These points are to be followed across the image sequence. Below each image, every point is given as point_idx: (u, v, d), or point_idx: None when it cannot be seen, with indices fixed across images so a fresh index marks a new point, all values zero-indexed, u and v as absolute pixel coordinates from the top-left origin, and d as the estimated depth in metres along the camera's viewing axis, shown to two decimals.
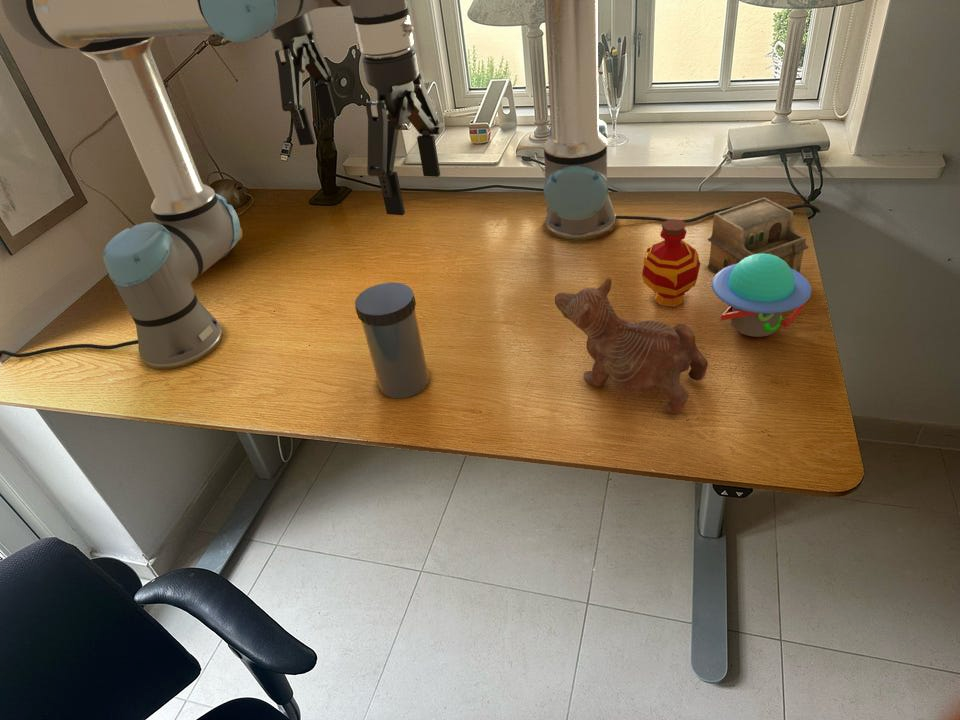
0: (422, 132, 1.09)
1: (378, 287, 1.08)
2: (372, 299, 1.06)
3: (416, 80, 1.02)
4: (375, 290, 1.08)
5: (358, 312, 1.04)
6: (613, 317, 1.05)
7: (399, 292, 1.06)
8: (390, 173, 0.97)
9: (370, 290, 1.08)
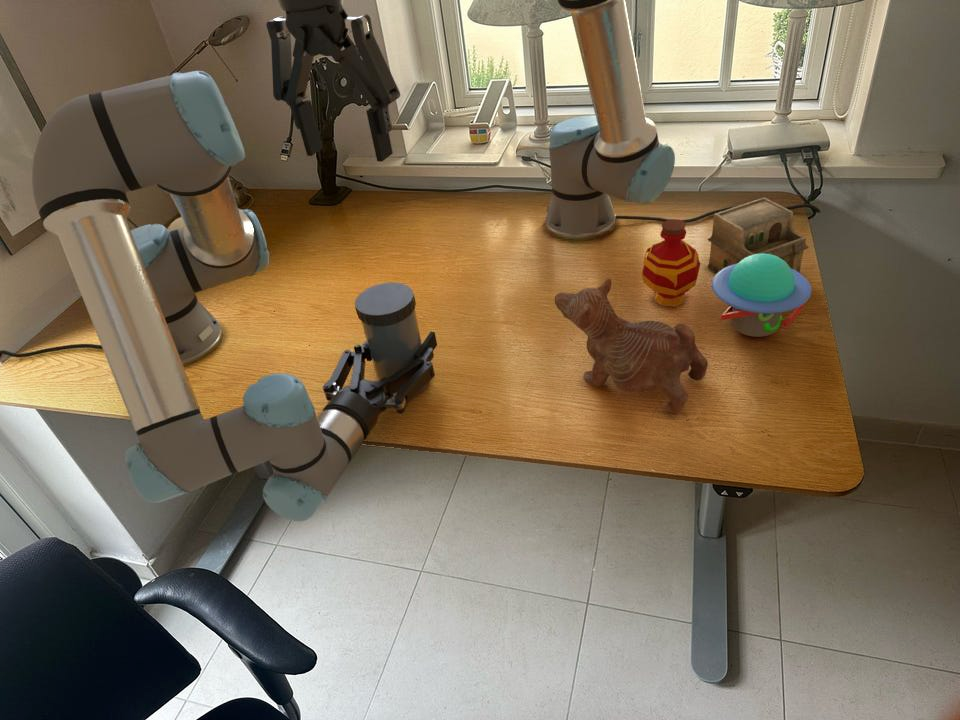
0: None
1: (378, 287, 1.08)
2: (372, 299, 1.06)
3: None
4: (375, 290, 1.08)
5: (358, 312, 1.04)
6: (613, 317, 1.05)
7: (399, 292, 1.06)
8: None
9: (370, 290, 1.08)
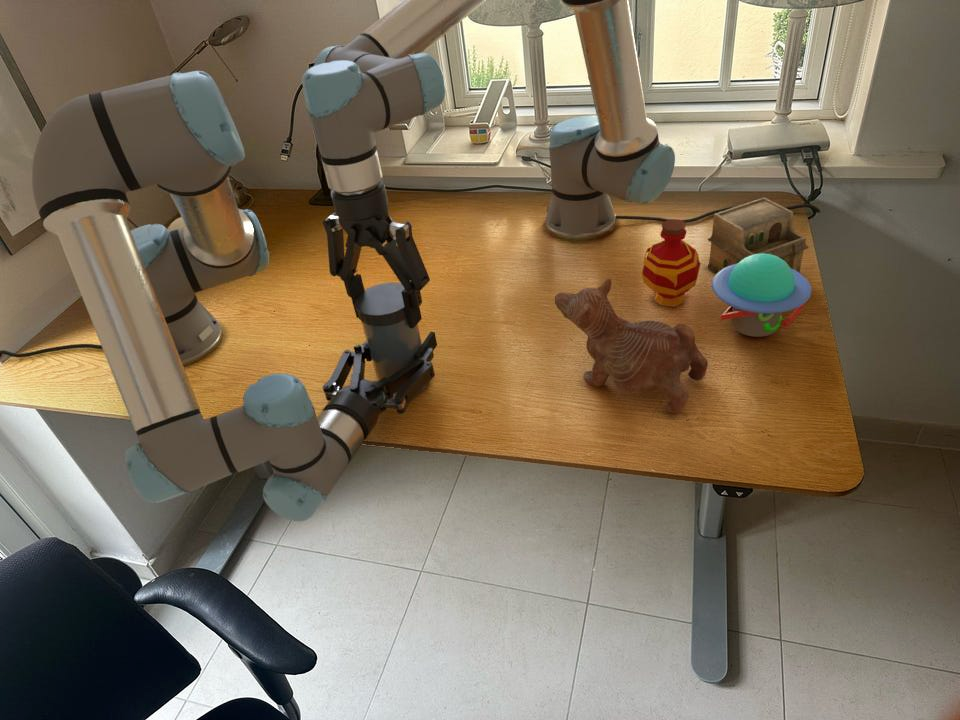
0: None
1: (378, 287, 1.08)
2: (372, 299, 1.06)
3: None
4: (375, 290, 1.08)
5: (358, 312, 1.04)
6: (613, 317, 1.05)
7: (399, 292, 1.06)
8: None
9: (370, 290, 1.08)
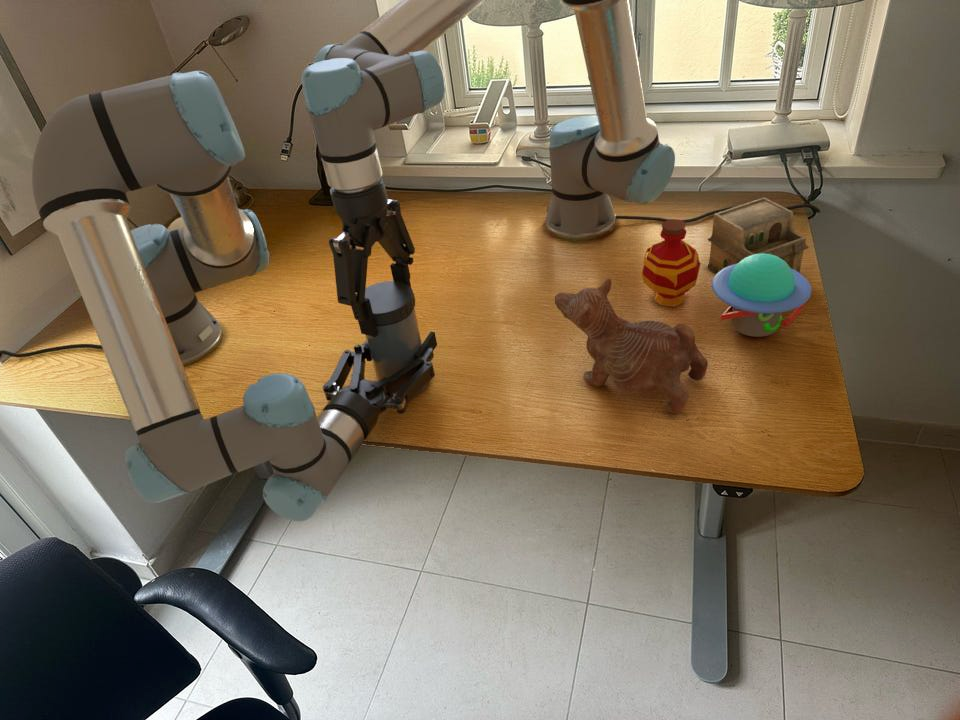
0: None
1: None
2: (380, 303, 1.04)
3: None
4: None
5: (395, 312, 1.02)
6: (613, 317, 1.05)
7: (378, 289, 1.07)
8: None
9: None
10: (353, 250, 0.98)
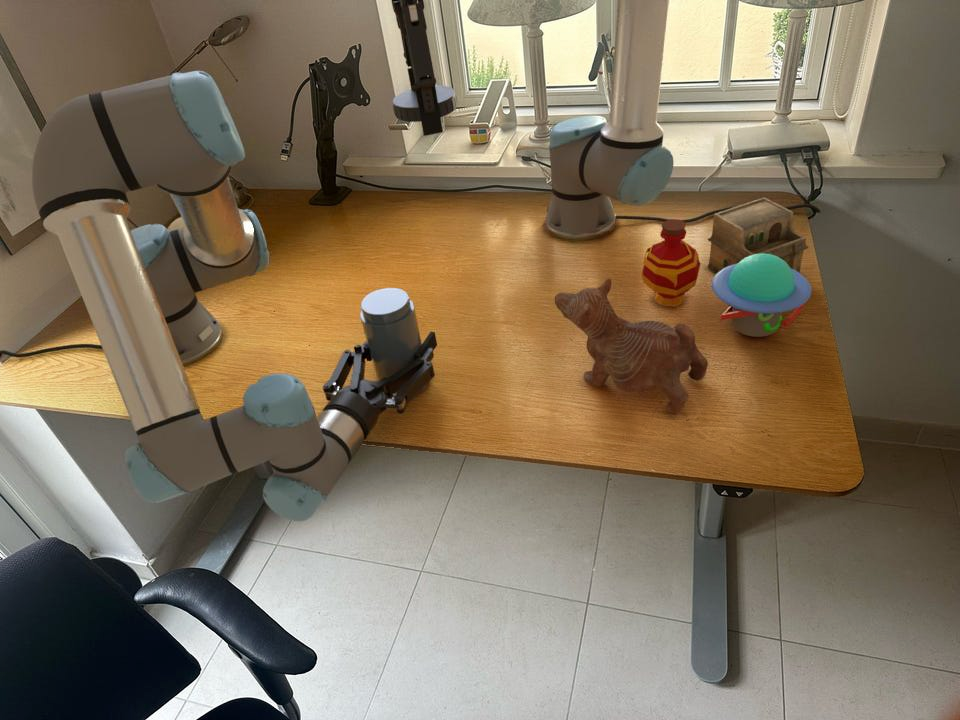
0: None
1: (408, 104, 0.97)
2: None
3: None
4: (415, 103, 0.97)
5: (453, 99, 0.98)
6: (613, 317, 1.05)
7: (408, 95, 1.00)
8: None
9: (417, 105, 0.96)
10: None
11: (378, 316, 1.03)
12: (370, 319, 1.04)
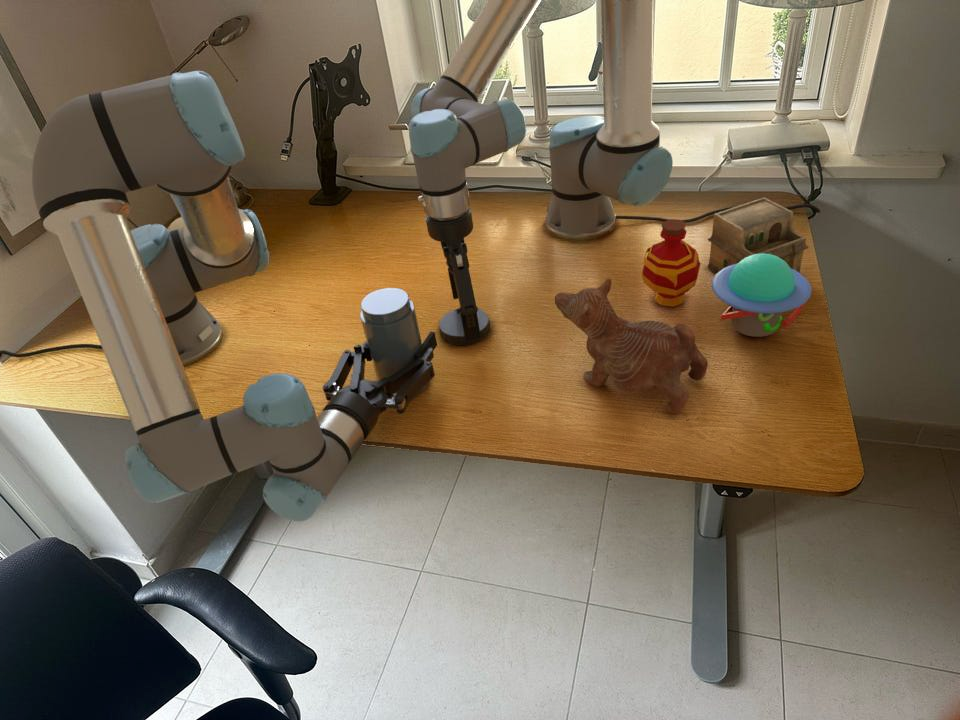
0: None
1: (452, 332, 1.22)
2: None
3: None
4: (457, 331, 1.22)
5: (487, 326, 1.23)
6: (613, 317, 1.05)
7: (451, 319, 1.25)
8: None
9: (459, 333, 1.22)
10: None
11: (378, 316, 1.03)
12: (370, 319, 1.04)
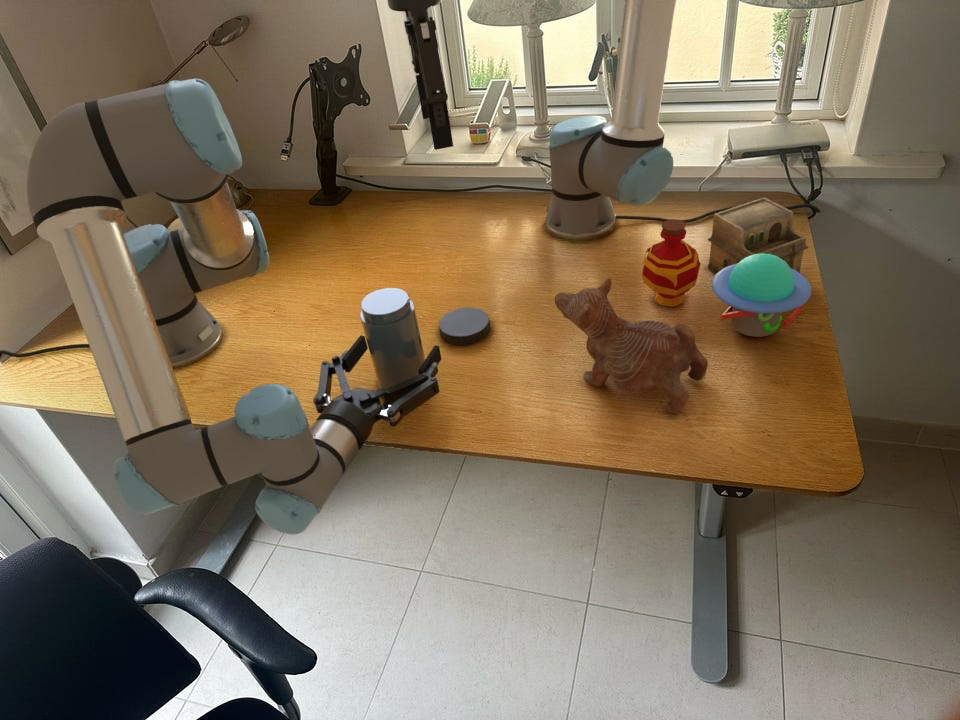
0: None
1: (452, 332, 1.22)
2: (469, 325, 1.23)
3: None
4: (457, 331, 1.22)
5: (487, 326, 1.23)
6: (613, 317, 1.05)
7: (451, 319, 1.25)
8: None
9: (459, 333, 1.22)
10: None
11: (378, 316, 1.03)
12: (370, 319, 1.04)
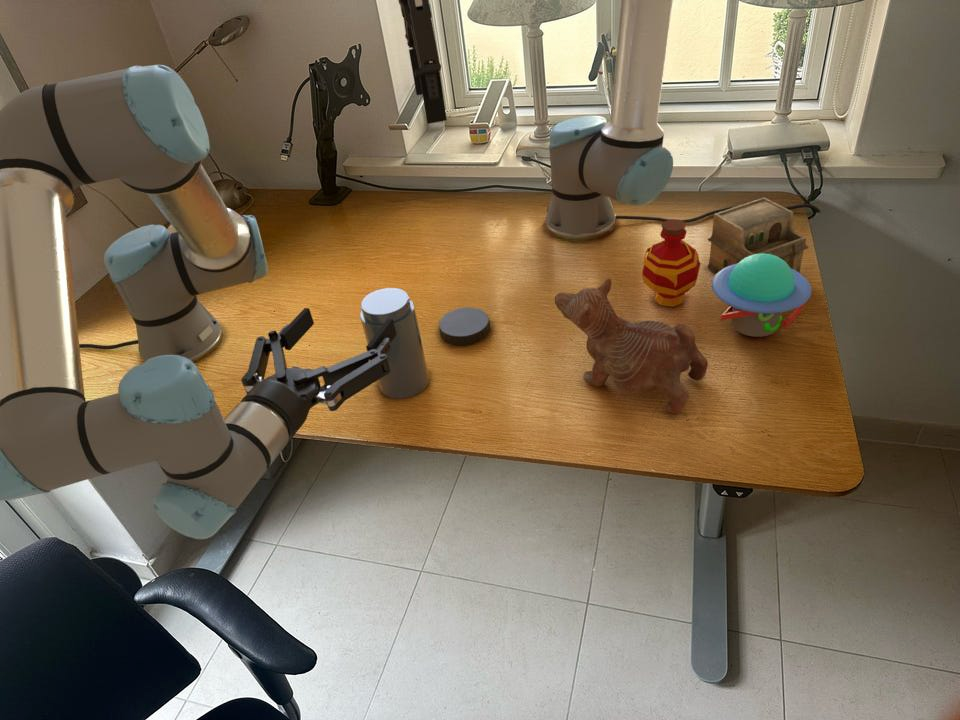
0: None
1: (452, 332, 1.22)
2: (469, 325, 1.23)
3: None
4: (457, 331, 1.22)
5: (487, 326, 1.23)
6: (613, 317, 1.05)
7: (451, 319, 1.25)
8: None
9: (459, 333, 1.22)
10: None
11: (378, 316, 1.03)
12: (370, 319, 1.04)
